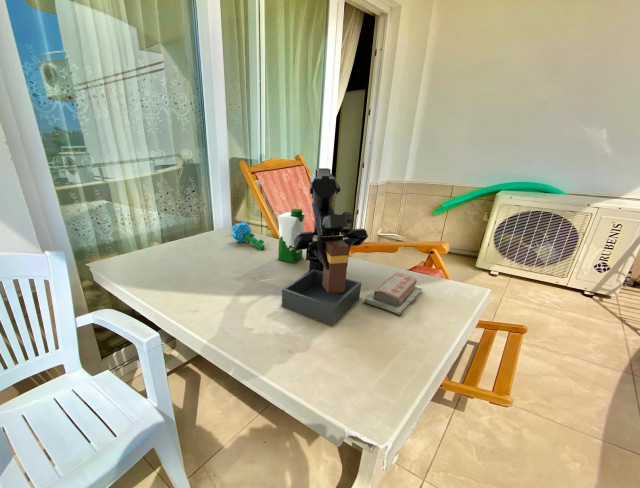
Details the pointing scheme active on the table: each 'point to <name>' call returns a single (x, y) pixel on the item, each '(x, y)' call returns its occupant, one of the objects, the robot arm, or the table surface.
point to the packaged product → (394, 293)
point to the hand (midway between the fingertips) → (336, 268)
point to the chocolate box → (335, 266)
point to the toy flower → (245, 235)
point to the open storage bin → (319, 298)
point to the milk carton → (290, 235)
